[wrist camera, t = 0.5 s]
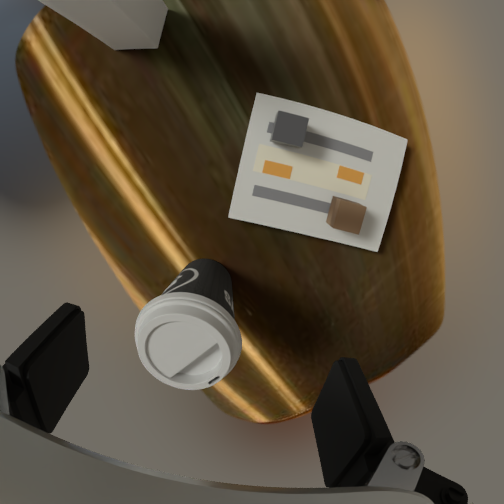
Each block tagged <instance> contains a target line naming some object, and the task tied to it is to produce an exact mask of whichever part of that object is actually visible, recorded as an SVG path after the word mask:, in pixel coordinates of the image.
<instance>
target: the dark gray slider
mask: <svg viewBox="0 0 504 504" xmlns="http://www.w3.org/2000/svg"><path fill="white" fill-rule="evenodd" d="M308 121H309V118H306V117H303V116H299V115H295V114H291V113H287V112H283V111H278V112H277V114H276V117H275V121H274V125H273V130H272V134H271V138H270V142H275V143H279V144H283V145H287V146H291V147H295V148H302V146H303V142H304V138H305V134H306V130H307V125H308Z"/></svg>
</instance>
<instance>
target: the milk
mask: <svg viewBox="0 0 504 504" xmlns="http://www.w3.org/2000/svg"><path fill="white" fill-rule="evenodd" d="M38 1H40V2H41V3H43V4H45V5H46V6H48V7H50V8H51V9H53V10H55V11H56V12H58V13H59V14H61V15H63V16H64V17H66V18H67V19H69V20H71V21H72V22H74V23H75V24H77V25H78V26H80V27H81V28H83V29H84V30H86V31H87V32H89V33H90V34H92V35H93V36H95V37H96V38H98V39H99V40H101V41H102V42H104V43H105V44H107V45H108V46H109V47H111V48H112V49H114V50H123V49H156V48H158V45H159V41H160V37H161V33H162V29H163V26H164V22H165V18H166V15H167V11H168V8H167V7H166V5H165V3H164V2H163V0H38Z"/></svg>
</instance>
